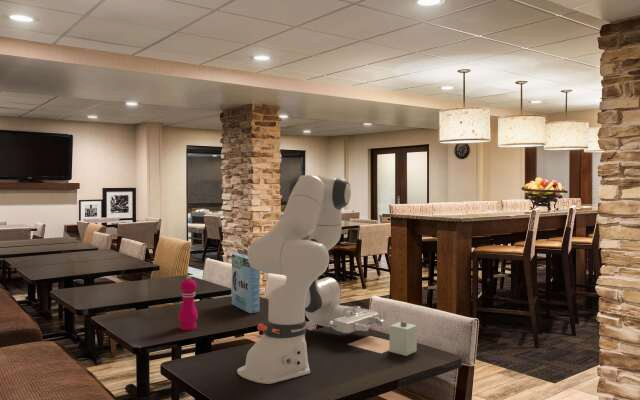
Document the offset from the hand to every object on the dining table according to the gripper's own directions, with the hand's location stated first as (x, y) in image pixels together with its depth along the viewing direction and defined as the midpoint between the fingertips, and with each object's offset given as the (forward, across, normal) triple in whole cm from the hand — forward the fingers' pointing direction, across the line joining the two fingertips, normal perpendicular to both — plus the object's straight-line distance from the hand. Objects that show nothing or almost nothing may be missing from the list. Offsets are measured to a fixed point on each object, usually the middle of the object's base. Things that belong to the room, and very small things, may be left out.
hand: (375, 325), depth 189 cm
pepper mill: (-63, -32, +7) cm, 71 cm away
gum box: (-71, +4, +7) cm, 71 cm away
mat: (0, 0, +7) cm, 7 cm away
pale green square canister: (+11, 0, +7) cm, 13 cm away
